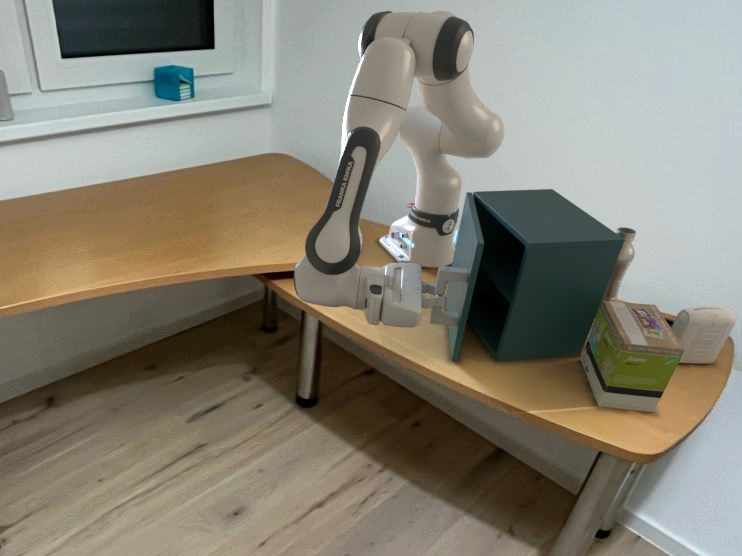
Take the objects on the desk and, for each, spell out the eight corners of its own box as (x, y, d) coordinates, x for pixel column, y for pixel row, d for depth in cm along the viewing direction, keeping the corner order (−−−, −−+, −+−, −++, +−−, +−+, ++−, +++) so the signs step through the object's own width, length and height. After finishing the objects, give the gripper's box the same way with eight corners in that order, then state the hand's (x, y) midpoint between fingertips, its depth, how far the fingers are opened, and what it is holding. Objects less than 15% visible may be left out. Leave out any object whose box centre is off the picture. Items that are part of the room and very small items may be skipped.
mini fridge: (497, 362, 116) (530, 243, 100) (451, 297, 137) (473, 191, 122) (580, 357, 117) (625, 239, 102) (522, 293, 139) (552, 188, 124)
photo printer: (704, 353, 119) (731, 302, 112) (716, 365, 115) (745, 313, 108) (654, 352, 119) (679, 301, 112) (666, 364, 115) (691, 313, 108)
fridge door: (423, 357, 116) (445, 240, 102) (422, 294, 138) (440, 190, 123) (457, 361, 115) (484, 243, 101) (450, 297, 137) (472, 192, 122)
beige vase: (615, 319, 130) (648, 238, 118) (584, 315, 131) (614, 235, 119) (608, 304, 135) (639, 226, 123) (578, 301, 136) (606, 223, 124)
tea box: (577, 360, 116) (601, 297, 108) (629, 365, 115) (658, 303, 106) (596, 407, 104) (625, 341, 96) (655, 414, 103) (689, 348, 94)
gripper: (375, 279, 123) (440, 285, 121) (368, 329, 107) (443, 337, 105) (378, 252, 120) (445, 258, 118) (372, 300, 103) (449, 308, 101)
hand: (444, 296), depth 111 cm, fingers closed on fridge door, 2 cm apart
